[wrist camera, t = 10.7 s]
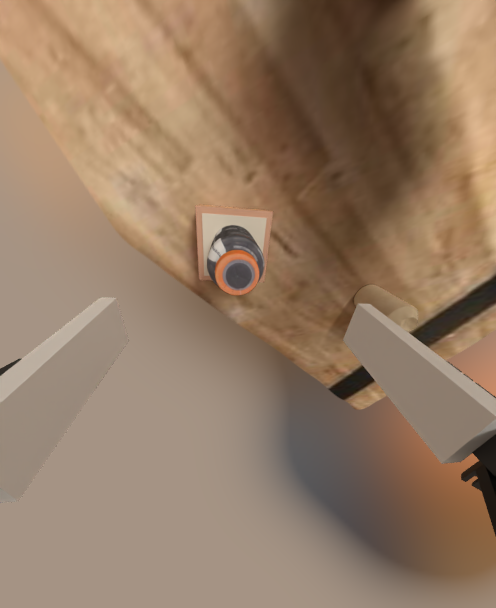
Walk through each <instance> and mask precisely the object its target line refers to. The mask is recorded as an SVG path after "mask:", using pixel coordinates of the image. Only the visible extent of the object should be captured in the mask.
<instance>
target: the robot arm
mask: <svg viewBox="0 0 496 608" xmlns="http://www.w3.org/2000/svg"><path fill="white" fill-rule="evenodd" d="M128 341H129V339H128V336H127V332H126V329H125V325H124V322H123V318H122V315H121V311H120V308H119V305H118V301H117V298H99V299H98V300H96V301H95V302H94V303H93V304H91V305H90V306H89V307H88V308H86V309H85V310H84V311H82V312H81V313H80V314H79V315H77V316H76V317H75V318H74V319H72V320H71V321H70V322H68V323H67V324H66V325H65V326H64V327H62V328H61V329H60V330H58V331H57V332H56V333H54V334H53V335H52V336H51V337H49V338H48V339H47V340H46V341H44V342H43V343H42V344H40V345H39V346H38V347H37V348H35V349H34V350H33V351H32V352H30V353H29V354H28V355H26V356H25V357H24V358H23V359H18V360H16V361H14V362H12V363H10V364H8V365H6V366H5V367H3V368H1V369H0V503H3V502H15V501H19V500H20V498H21V497H22V495H23V494H24V492H25V491H26V489H27V488H28V486H29V485H30V484H31V482H32V481H33V479H34V478H35V476H36V475H37V473H38V472H39V470H40V469H41V468H42V466H43V464H44V463H45V462H46V460H47V459H48V457H49V456H50V454H51V453H52V452H53V450H54V449H55V447H56V446H57V444H58V443H59V441H60V440H61V439H62V437H63V436H64V434H65V433H66V431H67V430H68V428H69V427H70V426H71V424H72V423H73V421H74V420H75V418H76V417H77V415H78V414H79V412H80V411H81V409H82V408H83V406H84V405H85V404H86V402H87V401H88V399H89V398H90V397H91V395H92V394H93V392H94V391H95V389H96V388H97V386H98V385H99V383H100V382H101V380H102V379H103V378H104V376H105V374H106V373H107V372H108V370H109V369H110V367H111V366H112V365H113V363H114V362H115V360H116V359H117V357H118V356H119V354H120V353H121V352H122V350H123V349H124V347H125V346H126V344H127V343H128ZM343 341H344V342H345V344H346V345H347V346H348V347H349V349H350V350H351V351H352V352H353V354H354V355H355V356H356V357H357V359H358V360H359V361H360V362H361V364H362V365H363V366H364V367H365V369H366V370H367V371H368V372H369V374H370V375H371V376H372V377H373V379H374V380H375V381H376V382H377V384H378V385H379V386H380V387H381V388H382V390H383V391H384V392H385V393H386V395H387V396H388V397H389V398H390V400H391V401H392V402H393V403H394V405H395V406H396V407H397V408H398V410H399V411H400V412H401V413H402V415H403V416H404V417H405V418H406V420H407V421H408V422H409V423H410V425H411V426H412V427H413V428H414V430H415V431H416V432H417V433H418V434H419V436H420V437H421V438H422V439H423V441H424V442H425V443H426V444H427V446H428V447H429V448H430V449H431V451H432V452H433V453H434V454H435V456H436V457H437V458H438V459H439V461H440V462H441V463H442V464H443V463H454V462H461V461H462V460H464V459H465V458H466V457H468V456H469V455H470V454H472V453H473V454H474V455H475V456H476V457H477V458H478V459H479V460H480V461H479V462H477V463H475V464H474V465H473V466H471V467H470V468H468V469H467V470H466V471H464V472H463V473H462V474H461V479H462V480H463V481H465V482H466V481H468V480H469V479H471V478H472V477H473V476H477V477H478V479H477V480H475V481H474V482H473V483H472V486H474V487H475V488H477V489H479V490H481V491H482V493H483V497H484V500H485V503H486V506H487V509H488V513H489V516H490V519H491V522H492V526H493V529H494V532H495V535H496V397H495V396H493V395H492V394H490V393H489V392H488V391H487V390H485V389H484V388H483V387H481V386H480V385H479V384H477V383H475V382H473V380H472V379H470V378H469V377H468V376H466V375H465V374H463V373H461V371H460V370H459V369H457V368H456V367H454V366H453V365H452V364H450V363H449V362H447V361H446V360H444V359H443V358H441V357H440V356H439V355H437V354H436V353H435V352H433V351H432V350H431V349H429V348H428V347H427V346H425V345H424V344H423V343H421V342H420V341H419V340H417V339H416V338H415V337H413V336H412V335H411V334H409V333H408V332H407V331H405V330H404V329H403V328H401V327H400V326H399V325H397V324H396V323H395V322H393V321H392V320H391V319H389V318H388V317H387V316H385V315H384V314H383V313H381V312H380V311H379V310H377V309H376V308H375V307H373V306H372V305H371V304H357V306H356V309H355V311H354V314H353V316H352V319H351V321H350V324H349V326H348V329H347V331H346V334H345V336H344V339H343Z"/></svg>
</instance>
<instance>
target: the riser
mask: <svg viewBox="0 0 496 608" xmlns="http://www.w3.org/2000/svg"><path fill="white" fill-rule="evenodd" d="M195 209H196V228H197V248H198V268H199V280H212V279H211V277H210V275H209V273H208V269H207V258H208V255H209V251H210V248H211V245H212V242H213V239H214V236H215V235H216V233H217V232H218V231H219V230H220V229H222V228H223V227H225V226H229V225H237V226H241V227H243V228H245V229H246V230H247V231H249V233H250V234H251V235H252V237H253V238H254V240H255V241H256V243H257V245H258V246H259V248H260V249H261V251H262V253H263V256H264V262H265V265H264V272H263V275H262V277H261V279H260V280H259V282H264V280H265V273H266V265H267V257H268V249H269V241H270V233H271V225H272V217H273V212H272V211H269V210H261V209H248V208H236V207H223V206H211V205H195Z"/></svg>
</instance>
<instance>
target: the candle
mask: <svg viewBox="0 0 496 608" xmlns="http://www.w3.org/2000/svg"><path fill="white" fill-rule="evenodd" d="M354 304H355V306H357V304H371V305H372V306H373V307H375V308H376V309H377V310H379V311H380V312H381V313H383V314H384V315H385V316H387V317H388V318H389V319H391V320H392V321H393V322H395V323H396V324H397V325H399V326H400V327H401V328H403V329H404V330H405V331H407V332H408V331H410V330H412V329H415V328H416V327H417V324H418V310H417V309H416V308H415V307H413V306H412V305H410V304H408V303H407V302H405V301H403V300H401V299H400V298H398V297H396V296H395V295H393V294H391V293H389V292H388V291H386V290H384V289H382V288H381V287H379V286H377V285H372V284H371V285H366V286H364V287H362V288H361V289H360V290H359V291H358V292H357V293H356V295H355V297H354Z"/></svg>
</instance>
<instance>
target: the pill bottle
mask: <svg viewBox="0 0 496 608" xmlns="http://www.w3.org/2000/svg"><path fill="white" fill-rule="evenodd" d="M264 265H265V262H264V256H263V253H262V251H261V249H260V248H259V246H258V245H257V243H256V241H255V240H254V238H253V237H252V235H251V234H250V233H249V231H247V230H246V229H245V228H243V227H241V226H237V225H229V226H225V227H223V228H222V229H220V230H219V231H218V232H217V233H216V235H215V236H214V239H213V242H212V245H211V248H210V251H209V255H208V258H207V269H208V273H209V275H210V277H211V279H212V280H213V282H214V283H215V284H216V285H217V286H218V287H220V288H221V289H222V290H223V291H224V292H226V293H228V294H231V295H243V294H246V293H248V292H250V291H251V290H252V289H253V288H254V287H255V286H256V284H257V283H258V282H259V280H260V279H261V277H262V275H263V272H264Z"/></svg>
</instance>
